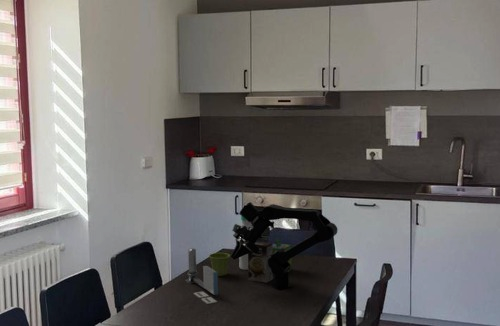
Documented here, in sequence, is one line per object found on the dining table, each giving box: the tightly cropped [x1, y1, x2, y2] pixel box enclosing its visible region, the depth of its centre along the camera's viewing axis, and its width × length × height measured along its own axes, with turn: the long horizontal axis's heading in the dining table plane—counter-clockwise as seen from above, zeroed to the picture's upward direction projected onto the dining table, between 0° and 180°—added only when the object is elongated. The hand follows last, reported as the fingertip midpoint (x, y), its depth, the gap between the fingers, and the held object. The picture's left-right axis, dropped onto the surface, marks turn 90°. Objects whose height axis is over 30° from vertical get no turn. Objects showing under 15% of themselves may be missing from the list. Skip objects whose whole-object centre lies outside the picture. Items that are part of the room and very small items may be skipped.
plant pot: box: [208, 252, 231, 277], centre depth 277 cm, size 9×9×9 cm
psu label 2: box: [200, 296, 218, 305], centre depth 242 cm, size 6×4×1 cm, turn 27°
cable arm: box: [194, 265, 219, 296], centre depth 255 cm, size 22×2×9 cm, turn 27°
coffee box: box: [247, 240, 274, 284], centre depth 268 cm, size 9×6×16 cm
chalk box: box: [272, 237, 293, 272], centre depth 281 cm, size 9×9×15 cm
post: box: [185, 248, 199, 285], centre depth 267 cm, size 5×5×14 cm
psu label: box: [193, 291, 210, 299], centre depth 249 cm, size 6×4×1 cm, turn 27°
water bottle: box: [238, 215, 253, 271], centre depth 285 cm, size 7×7×25 cm
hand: (232, 258), depth 256 cm, fingers closed
